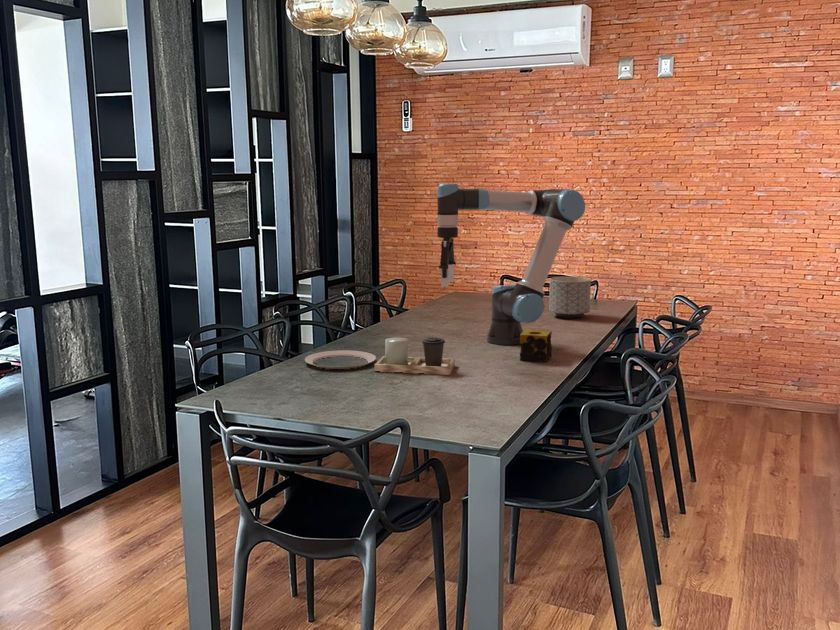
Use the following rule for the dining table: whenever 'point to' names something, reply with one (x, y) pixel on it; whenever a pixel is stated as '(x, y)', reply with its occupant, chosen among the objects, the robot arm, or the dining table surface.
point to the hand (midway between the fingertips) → (447, 284)
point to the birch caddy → (416, 366)
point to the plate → (320, 355)
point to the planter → (569, 296)
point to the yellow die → (535, 346)
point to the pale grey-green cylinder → (396, 351)
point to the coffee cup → (433, 351)
